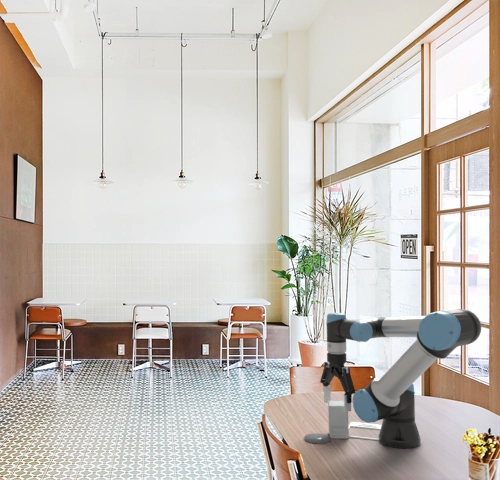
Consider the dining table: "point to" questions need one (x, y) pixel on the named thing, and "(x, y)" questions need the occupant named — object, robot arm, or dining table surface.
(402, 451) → the dining table surface
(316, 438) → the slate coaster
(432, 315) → the robot arm
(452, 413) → the dining table surface
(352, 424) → the photo frame
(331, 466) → the dining table surface
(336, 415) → the supplement box
